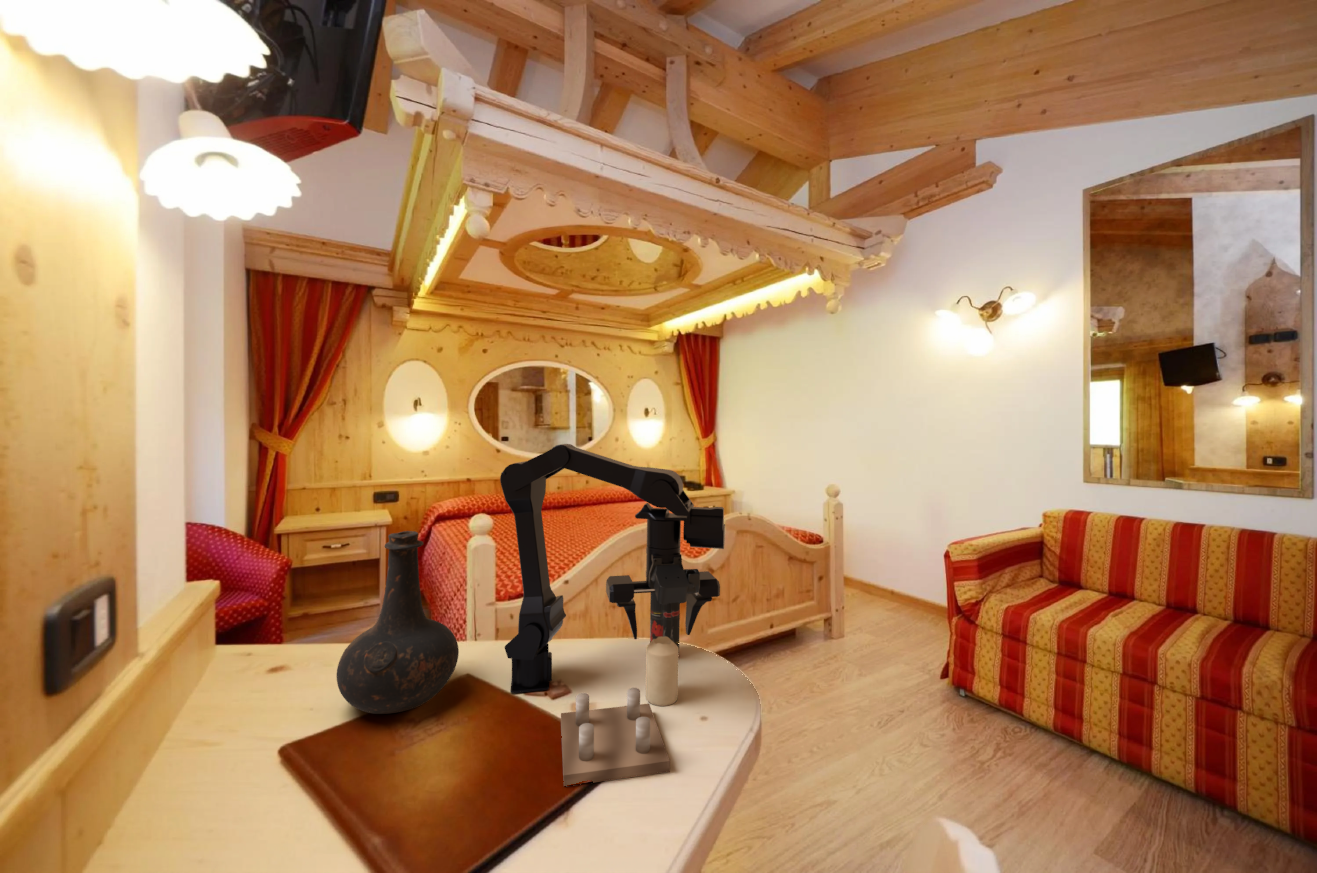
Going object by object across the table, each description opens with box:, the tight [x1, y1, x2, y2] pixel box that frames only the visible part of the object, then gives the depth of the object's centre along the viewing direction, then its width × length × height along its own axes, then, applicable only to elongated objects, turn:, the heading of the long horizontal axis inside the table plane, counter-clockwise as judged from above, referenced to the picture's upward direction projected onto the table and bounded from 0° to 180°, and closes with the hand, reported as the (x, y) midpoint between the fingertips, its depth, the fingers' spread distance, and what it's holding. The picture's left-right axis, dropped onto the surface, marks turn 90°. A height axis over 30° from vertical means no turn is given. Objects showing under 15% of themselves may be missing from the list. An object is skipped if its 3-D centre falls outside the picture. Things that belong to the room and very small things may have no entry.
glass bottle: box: [336, 530, 460, 715], centre depth 84 cm, size 18×18×28 cm
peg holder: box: [560, 687, 671, 787], centre depth 73 cm, size 14×14×6 cm
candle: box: [645, 637, 679, 707], centre depth 86 cm, size 6×6×10 cm
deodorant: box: [649, 592, 681, 656], centre depth 101 cm, size 6×6×15 cm
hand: (661, 636), depth 86 cm, fingers open, 9 cm apart
